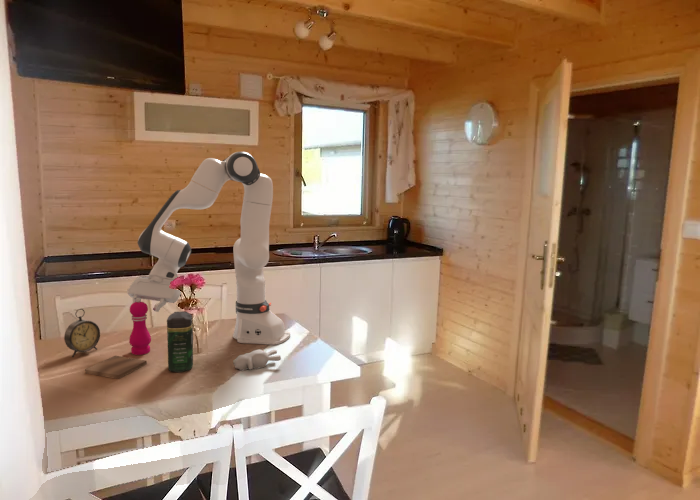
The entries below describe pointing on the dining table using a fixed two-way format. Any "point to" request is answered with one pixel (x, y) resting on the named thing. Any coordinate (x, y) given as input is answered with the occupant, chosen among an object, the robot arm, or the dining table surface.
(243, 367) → the bunny figurine
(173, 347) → the coffee jar
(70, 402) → the dining table surface
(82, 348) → the alarm clock
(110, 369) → the walnut board
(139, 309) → the pepper mill
